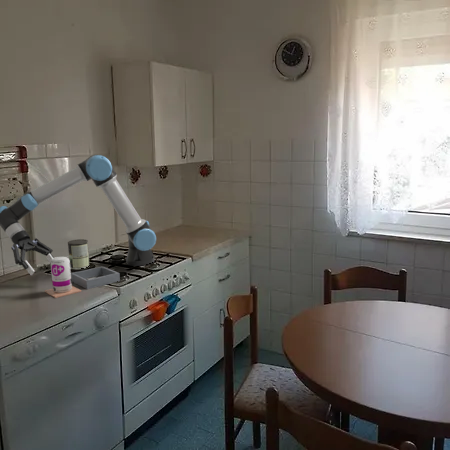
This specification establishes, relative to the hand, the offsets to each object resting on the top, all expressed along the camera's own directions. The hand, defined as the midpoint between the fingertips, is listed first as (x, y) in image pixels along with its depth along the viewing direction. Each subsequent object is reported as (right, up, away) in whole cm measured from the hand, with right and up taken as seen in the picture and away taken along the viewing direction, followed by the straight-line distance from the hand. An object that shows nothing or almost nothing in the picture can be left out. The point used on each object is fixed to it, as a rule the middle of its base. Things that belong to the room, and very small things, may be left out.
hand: (44, 269), depth 218 cm
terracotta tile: (+9, -10, -3) cm, 14 cm away
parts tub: (+20, -7, +12) cm, 24 cm away
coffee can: (+4, -2, +38) cm, 38 cm away
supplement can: (+9, -9, -3) cm, 13 cm away
